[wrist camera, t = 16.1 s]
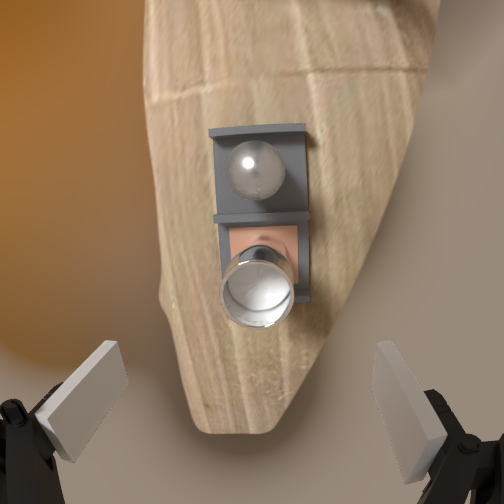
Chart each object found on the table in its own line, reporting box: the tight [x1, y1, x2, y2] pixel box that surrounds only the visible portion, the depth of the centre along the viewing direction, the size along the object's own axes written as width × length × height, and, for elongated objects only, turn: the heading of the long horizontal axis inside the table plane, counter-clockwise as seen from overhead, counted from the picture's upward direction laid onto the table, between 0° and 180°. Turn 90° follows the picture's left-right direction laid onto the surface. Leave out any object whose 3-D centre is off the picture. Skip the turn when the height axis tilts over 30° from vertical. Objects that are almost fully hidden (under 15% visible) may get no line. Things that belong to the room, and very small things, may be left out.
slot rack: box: [209, 123, 311, 304], centre depth 39 cm, size 23×12×3 cm, turn 3°
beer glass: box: [219, 234, 295, 330], centre depth 33 cm, size 7×7×15 cm
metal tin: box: [224, 140, 286, 201], centre depth 34 cm, size 6×6×10 cm
